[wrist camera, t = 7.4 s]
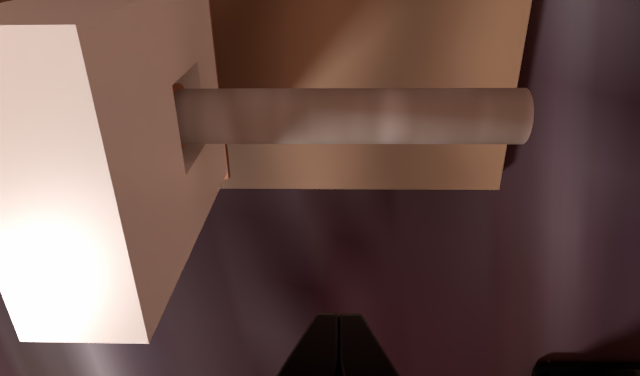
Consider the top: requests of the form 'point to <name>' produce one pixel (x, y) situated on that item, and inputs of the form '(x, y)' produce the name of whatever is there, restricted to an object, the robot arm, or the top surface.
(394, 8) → the rod stand
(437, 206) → the top surface
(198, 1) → the tan rectangular block
